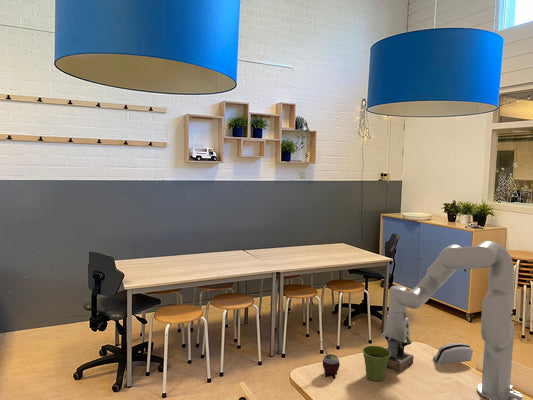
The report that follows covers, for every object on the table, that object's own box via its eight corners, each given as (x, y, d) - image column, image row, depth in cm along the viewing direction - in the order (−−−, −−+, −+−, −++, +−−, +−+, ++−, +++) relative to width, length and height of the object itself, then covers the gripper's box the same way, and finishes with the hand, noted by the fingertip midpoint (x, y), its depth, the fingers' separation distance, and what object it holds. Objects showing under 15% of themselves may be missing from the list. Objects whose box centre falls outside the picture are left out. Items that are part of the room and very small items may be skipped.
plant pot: (391, 386, 162) (392, 359, 161) (361, 382, 164) (362, 356, 163) (388, 371, 173) (389, 346, 172) (360, 368, 176) (361, 343, 175)
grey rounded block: (463, 355, 189) (469, 339, 185) (470, 363, 184) (476, 347, 180) (432, 359, 185) (437, 342, 181) (438, 367, 181) (443, 350, 177)
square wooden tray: (413, 363, 181) (413, 355, 181) (399, 372, 172) (399, 364, 172) (388, 353, 190) (388, 346, 190) (374, 362, 181) (374, 354, 181)
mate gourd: (342, 377, 168) (343, 342, 167) (327, 381, 165) (328, 346, 164) (331, 369, 175) (332, 335, 174) (316, 373, 171) (317, 339, 170)
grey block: (403, 356, 181) (404, 339, 181) (395, 361, 176) (396, 343, 176) (391, 351, 186) (392, 335, 185) (383, 356, 181) (384, 339, 180)
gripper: (419, 317, 175) (417, 357, 177) (384, 307, 187) (383, 344, 189) (411, 321, 170) (409, 363, 172) (376, 310, 182) (374, 349, 184)
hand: (395, 353), depth 180 cm, fingers closed on grey block, 4 cm apart
